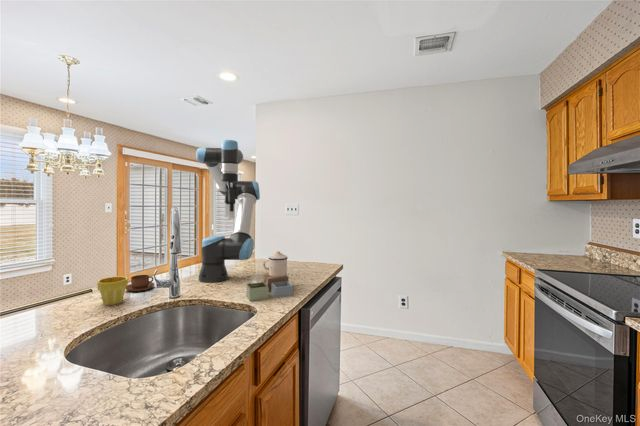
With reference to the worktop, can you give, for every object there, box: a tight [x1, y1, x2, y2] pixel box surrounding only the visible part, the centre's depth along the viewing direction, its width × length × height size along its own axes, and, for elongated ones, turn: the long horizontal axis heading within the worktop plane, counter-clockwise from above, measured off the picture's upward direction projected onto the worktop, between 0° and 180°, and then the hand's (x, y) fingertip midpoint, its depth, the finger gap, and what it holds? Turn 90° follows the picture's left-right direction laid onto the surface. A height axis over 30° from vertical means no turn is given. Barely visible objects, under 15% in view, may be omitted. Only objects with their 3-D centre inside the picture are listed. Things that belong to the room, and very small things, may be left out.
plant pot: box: [96, 275, 129, 306], centre depth 124 cm, size 10×10×10 cm
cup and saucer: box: [125, 274, 155, 292], centre depth 143 cm, size 12×12×6 cm
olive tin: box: [246, 281, 269, 303], centre depth 131 cm, size 8×8×6 cm
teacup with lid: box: [262, 250, 288, 277], centre depth 145 cm, size 12×9×12 cm
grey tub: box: [270, 281, 294, 298], centre depth 136 cm, size 8×8×5 cm
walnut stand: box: [262, 272, 290, 293], centre depth 145 cm, size 10×10×7 cm
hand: (229, 217), depth 143 cm, fingers open, 13 cm apart
